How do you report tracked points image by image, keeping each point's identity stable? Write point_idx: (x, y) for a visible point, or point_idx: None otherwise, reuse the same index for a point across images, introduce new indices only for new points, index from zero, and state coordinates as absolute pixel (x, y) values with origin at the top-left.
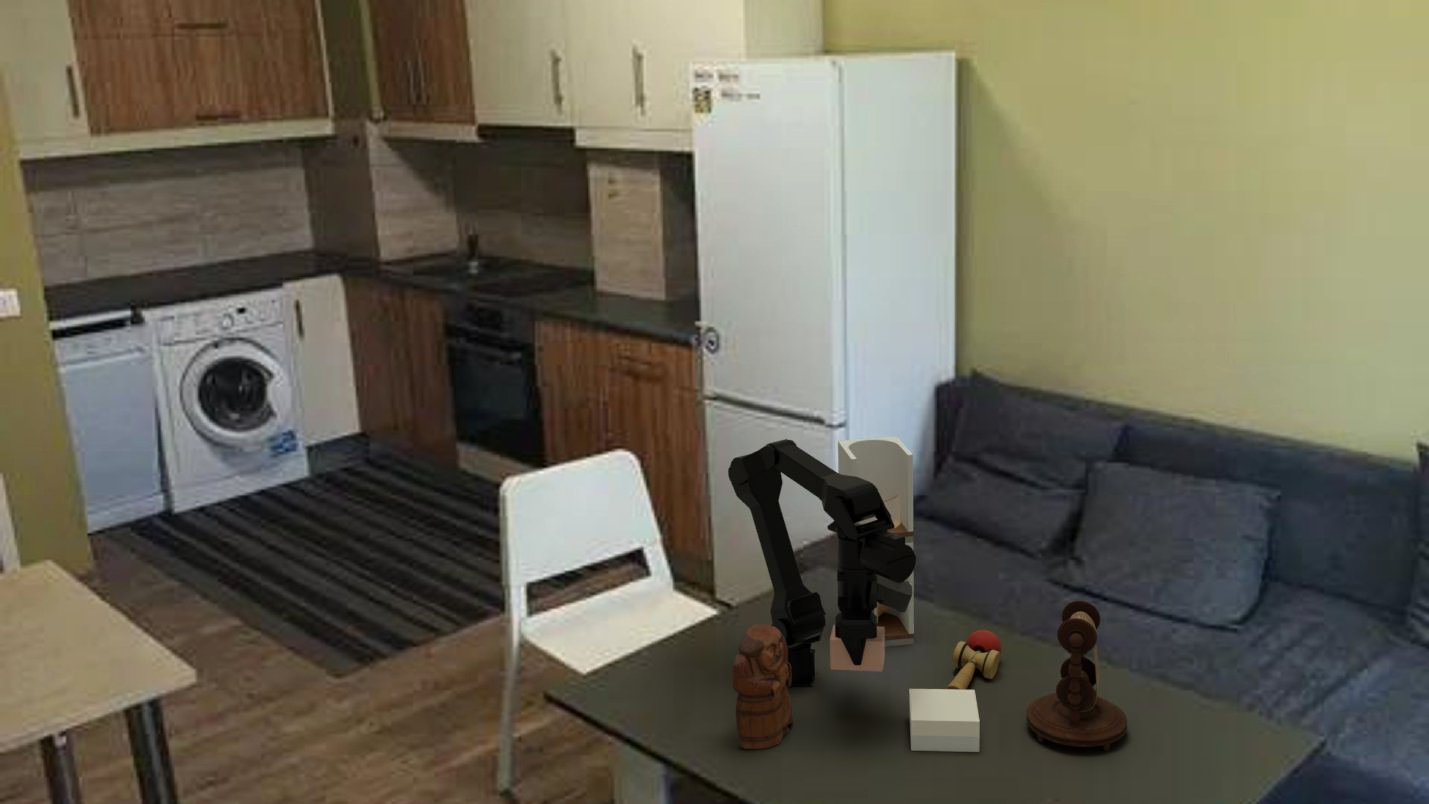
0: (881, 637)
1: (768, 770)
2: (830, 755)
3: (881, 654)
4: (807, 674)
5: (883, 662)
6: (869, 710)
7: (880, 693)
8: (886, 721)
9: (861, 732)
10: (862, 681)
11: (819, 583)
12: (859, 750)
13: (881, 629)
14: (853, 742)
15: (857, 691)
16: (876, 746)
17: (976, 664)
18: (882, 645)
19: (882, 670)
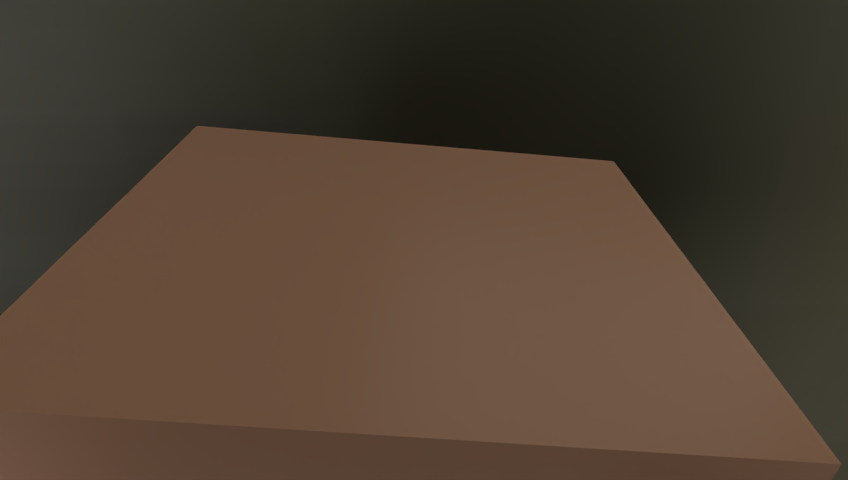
0: (577, 466)
1: (840, 475)
2: (794, 288)
3: (697, 286)
4: None
5: (418, 152)
6: (357, 112)
7: (135, 44)
8: (486, 14)
9: (601, 155)
10: (13, 148)
11: None
12: (784, 165)
13: (99, 461)
14: (697, 193)
15: (144, 175)
16: (765, 78)
17: None
18: (622, 340)
19: (589, 160)
